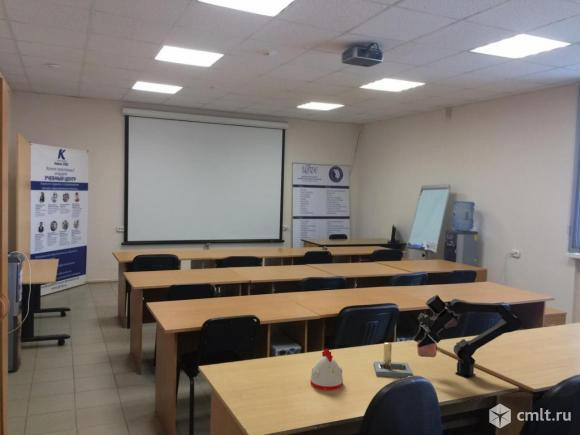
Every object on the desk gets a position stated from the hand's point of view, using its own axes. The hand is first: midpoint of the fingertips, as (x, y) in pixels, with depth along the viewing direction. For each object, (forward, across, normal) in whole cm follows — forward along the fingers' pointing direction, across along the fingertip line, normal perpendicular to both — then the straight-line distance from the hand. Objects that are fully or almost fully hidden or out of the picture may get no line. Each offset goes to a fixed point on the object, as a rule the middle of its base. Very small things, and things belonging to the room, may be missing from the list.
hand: (416, 343), depth 209 cm
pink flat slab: (+2, -36, +19) cm, 40 cm away
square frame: (+17, 0, +2) cm, 17 cm away
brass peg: (+19, 0, 0) cm, 19 cm away
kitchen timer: (+39, +18, -19) cm, 47 cm away
